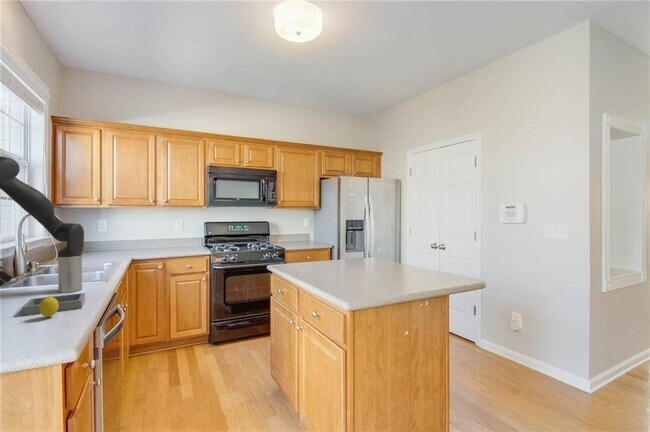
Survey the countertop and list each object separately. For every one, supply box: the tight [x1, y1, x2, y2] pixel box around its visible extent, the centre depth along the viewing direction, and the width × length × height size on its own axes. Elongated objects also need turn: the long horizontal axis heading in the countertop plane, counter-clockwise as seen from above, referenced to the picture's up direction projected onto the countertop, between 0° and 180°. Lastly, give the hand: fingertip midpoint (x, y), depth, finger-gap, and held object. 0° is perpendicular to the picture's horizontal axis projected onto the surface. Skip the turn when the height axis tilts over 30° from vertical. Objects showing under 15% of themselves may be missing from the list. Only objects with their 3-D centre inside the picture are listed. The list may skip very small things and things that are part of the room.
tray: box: [21, 292, 86, 317], centre depth 132 cm, size 13×18×3 cm
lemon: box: [39, 296, 59, 318], centre depth 120 cm, size 6×6×8 cm
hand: (6, 282), depth 114 cm, fingers open, 8 cm apart
